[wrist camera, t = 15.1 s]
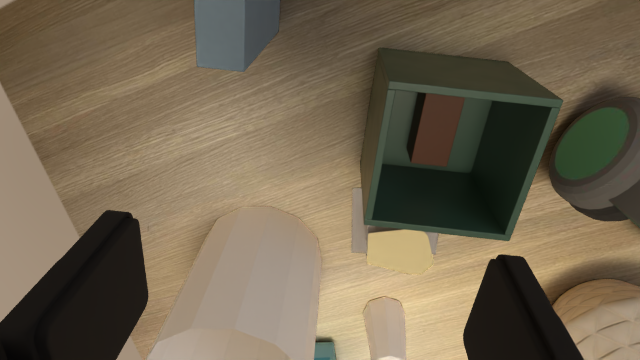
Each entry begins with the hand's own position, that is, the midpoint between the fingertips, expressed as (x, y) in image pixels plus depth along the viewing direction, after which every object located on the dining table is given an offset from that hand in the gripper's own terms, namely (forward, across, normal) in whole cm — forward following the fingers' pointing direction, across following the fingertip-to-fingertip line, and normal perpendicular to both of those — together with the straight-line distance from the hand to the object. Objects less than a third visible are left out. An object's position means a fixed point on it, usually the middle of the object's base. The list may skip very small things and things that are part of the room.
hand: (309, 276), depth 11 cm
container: (+32, +6, +26) cm, 42 cm away
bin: (+32, -10, +6) cm, 34 cm away
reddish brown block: (+32, -10, +6) cm, 34 cm away
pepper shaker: (+32, -10, +33) cm, 47 cm away
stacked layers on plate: (+32, -9, +19) cm, 39 cm away
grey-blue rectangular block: (+32, +7, -4) cm, 33 cm away
